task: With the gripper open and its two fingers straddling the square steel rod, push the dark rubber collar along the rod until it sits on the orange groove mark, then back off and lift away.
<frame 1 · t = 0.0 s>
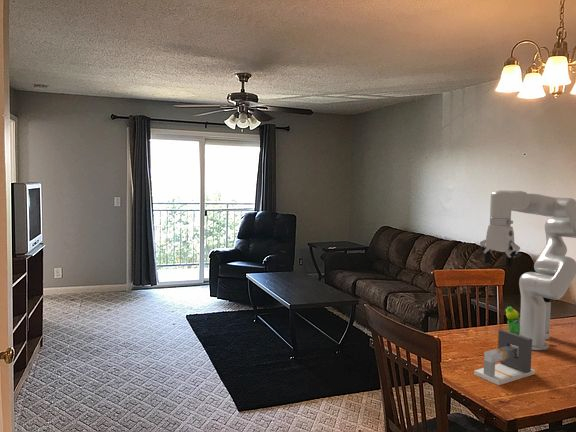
hand: (498, 265, 181), 37 cm above the table, tool pointing down, fingers open, 9 cm apart
grey square bar: (505, 352, 165), on the pipe stand, point 8 cm above the table
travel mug: (541, 337, 207), on the table
pipe stand: (504, 374, 165), on the table
collar: (514, 350, 167), point 8 cm above the table, slide at 0.0 cm
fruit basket: (515, 331, 215), on the table
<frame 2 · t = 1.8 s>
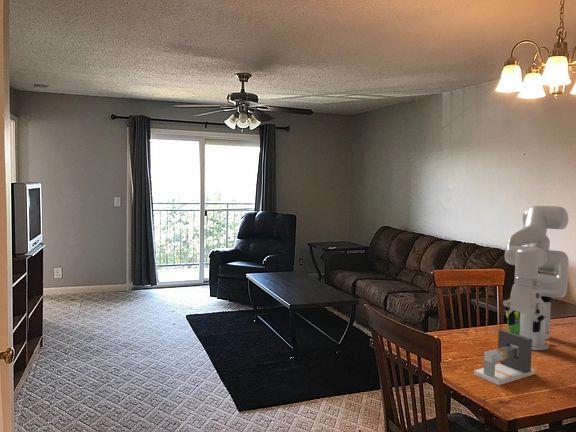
hand: (523, 328, 169), 16 cm above the table, tool pointing down, fingers open, 9 cm apart
nothing on the table moved.
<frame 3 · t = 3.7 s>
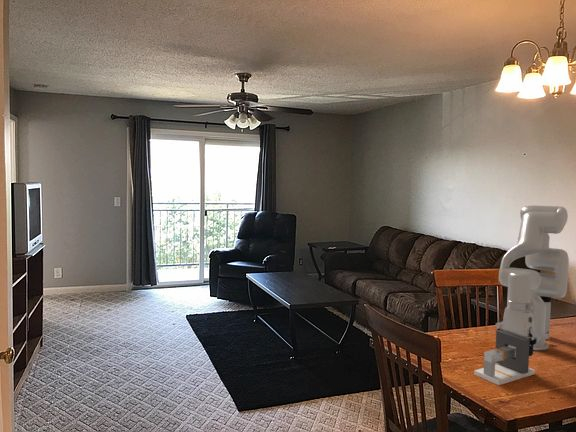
hand: (516, 351, 168), 7 cm above the table, tool pointing down, fingers open, 9 cm apart
collar: (511, 351, 167), point 8 cm above the table, slide at 1.4 cm, touching gripper
everything else where it was.
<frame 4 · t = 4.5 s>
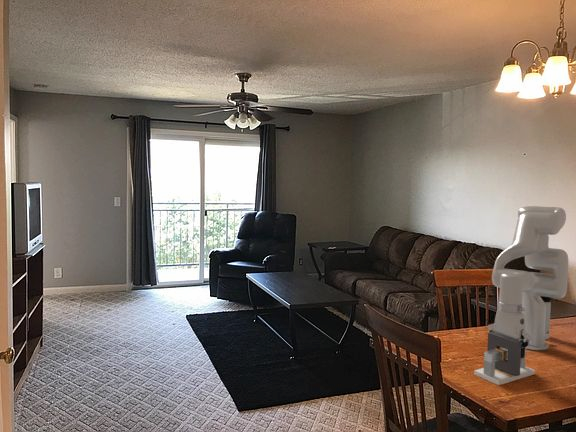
hand: (508, 353, 166), 7 cm above the table, tool pointing down, fingers open, 9 cm apart
collar: (503, 353, 164), point 8 cm above the table, slide at 6.0 cm, touching gripper
everything else where it was.
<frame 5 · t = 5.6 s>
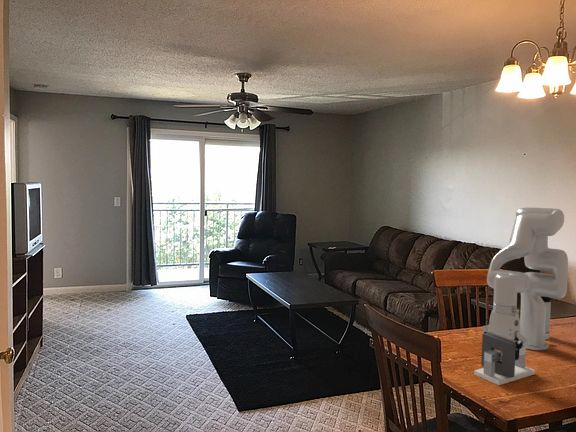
hand: (502, 355, 164), 7 cm above the table, tool pointing down
collar: (498, 354, 163), point 8 cm above the table, slide at 9.1 cm, touching gripper
everything else where it was.
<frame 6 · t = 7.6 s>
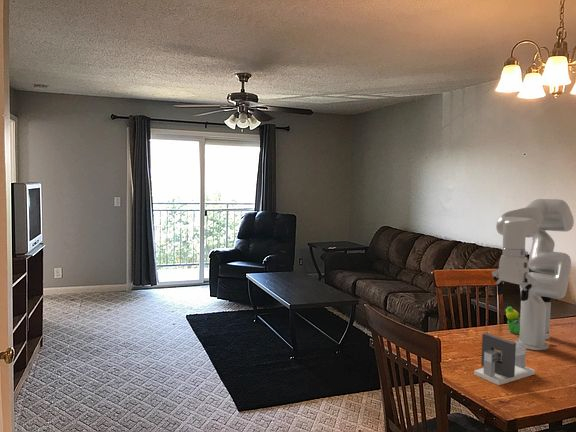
hand: (512, 297, 172), 26 cm above the table, tool pointing down, fingers open, 9 cm apart
collar: (498, 354, 163), point 8 cm above the table, slide at 9.1 cm
everything else where it was.
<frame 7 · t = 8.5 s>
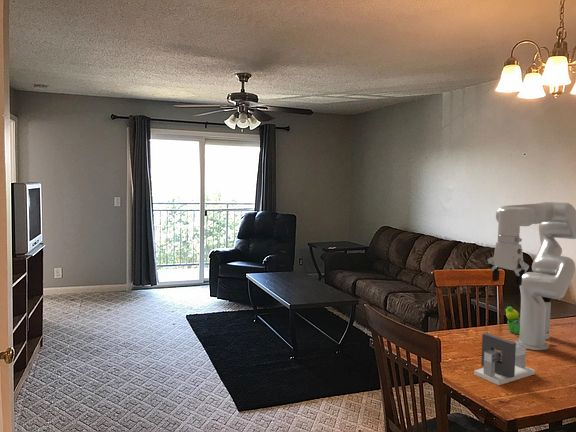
hand: (506, 283, 178), 30 cm above the table, tool pointing down, fingers open, 9 cm apart
nothing on the table moved.
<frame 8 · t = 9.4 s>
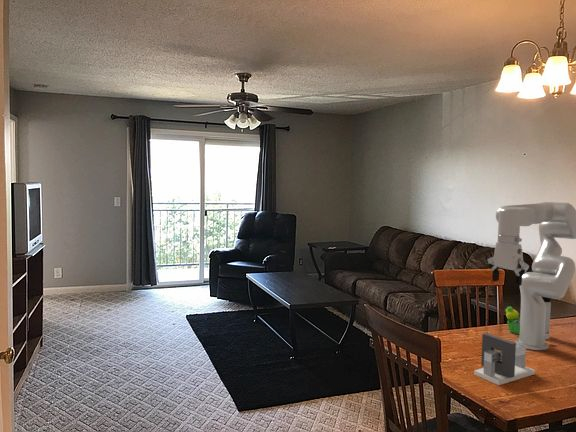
hand: (506, 283, 178), 30 cm above the table, tool pointing down, fingers open, 9 cm apart
nothing on the table moved.
at the end: collar slide at 9.1 cm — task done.
